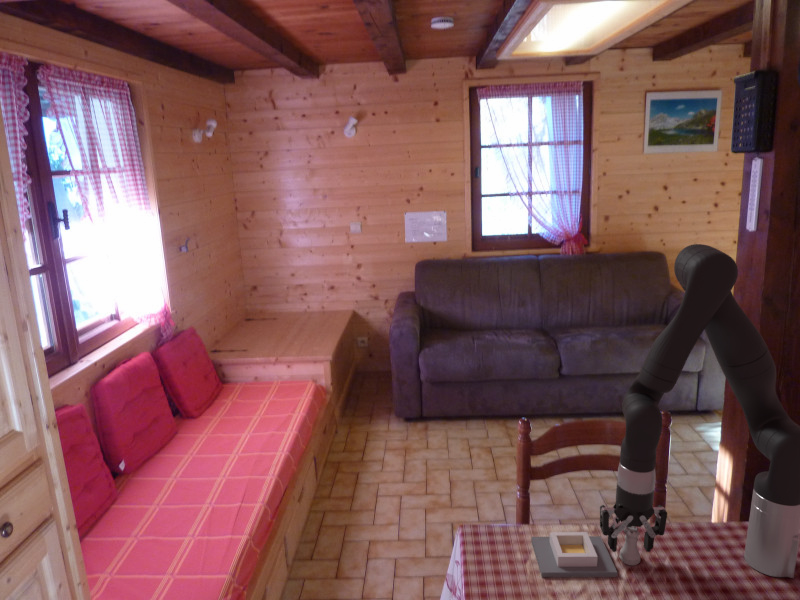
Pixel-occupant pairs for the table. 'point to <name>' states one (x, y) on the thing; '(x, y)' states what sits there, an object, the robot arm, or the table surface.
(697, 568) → the table surface
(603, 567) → the square frame on plate
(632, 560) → the rook chess piece
